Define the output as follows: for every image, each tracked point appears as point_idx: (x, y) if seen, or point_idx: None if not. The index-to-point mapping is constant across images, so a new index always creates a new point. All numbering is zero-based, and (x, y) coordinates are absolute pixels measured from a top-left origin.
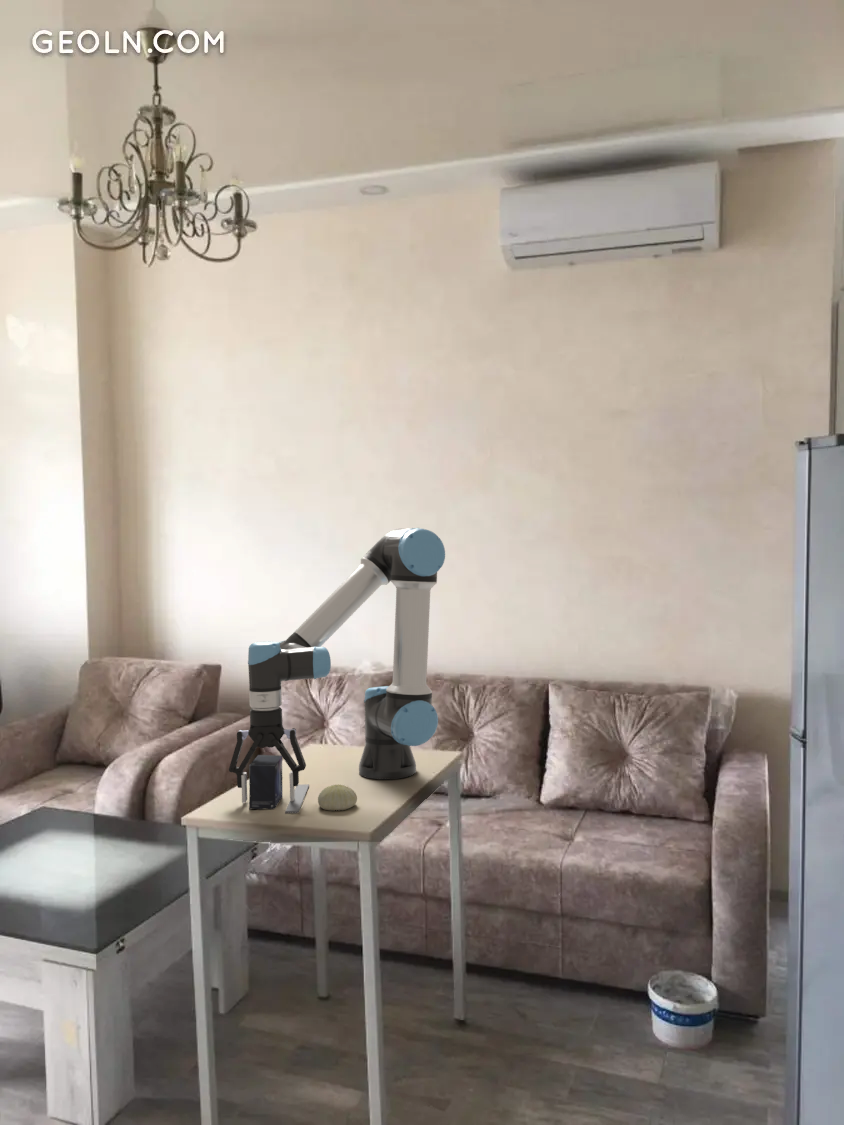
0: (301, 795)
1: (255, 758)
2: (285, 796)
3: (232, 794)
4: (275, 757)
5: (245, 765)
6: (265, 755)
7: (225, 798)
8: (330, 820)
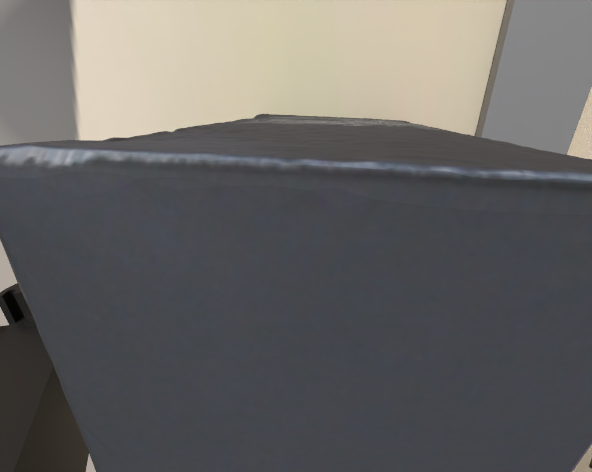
0: (546, 143)
1: (94, 454)
2: (430, 103)
3: (82, 32)
4: (481, 436)
5: (80, 466)
6: (205, 268)
7: (84, 127)
8: (587, 468)
